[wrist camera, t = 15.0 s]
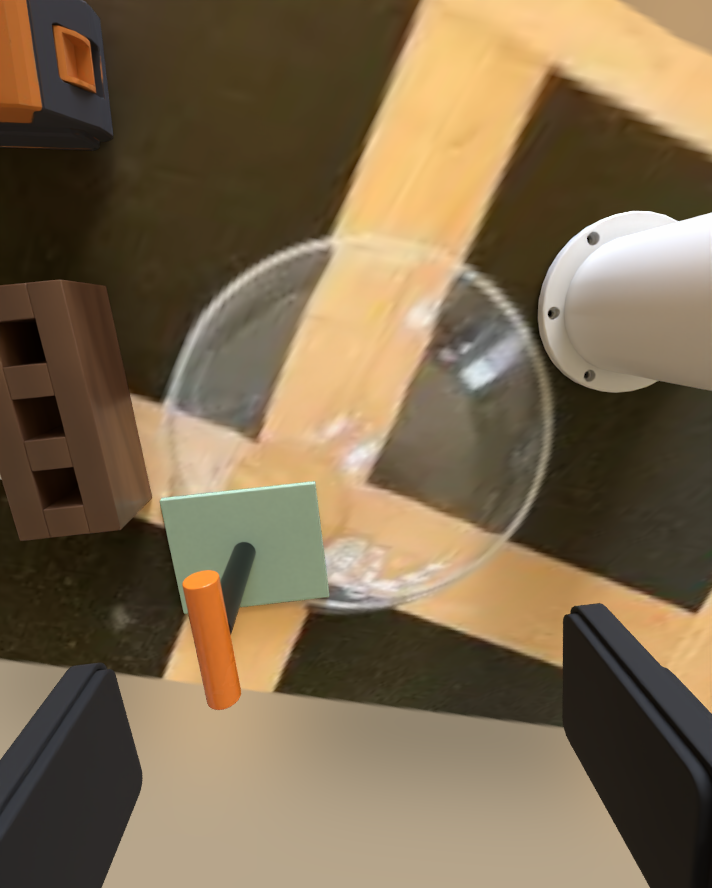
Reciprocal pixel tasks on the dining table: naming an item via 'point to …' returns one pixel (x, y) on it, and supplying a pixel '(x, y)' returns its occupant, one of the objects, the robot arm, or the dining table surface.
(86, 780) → the robot arm
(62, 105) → the power drill
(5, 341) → the rack
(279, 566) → the mat
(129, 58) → the dining table surface
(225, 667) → the t handle
